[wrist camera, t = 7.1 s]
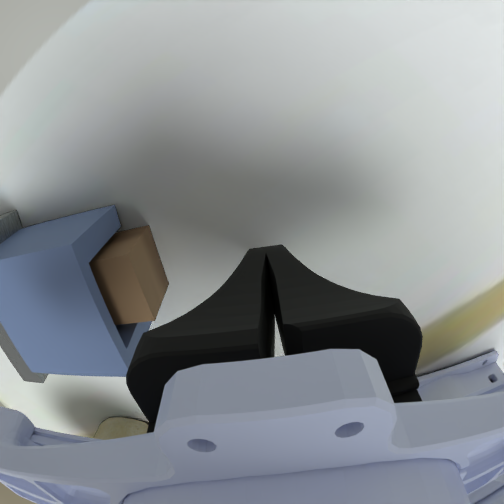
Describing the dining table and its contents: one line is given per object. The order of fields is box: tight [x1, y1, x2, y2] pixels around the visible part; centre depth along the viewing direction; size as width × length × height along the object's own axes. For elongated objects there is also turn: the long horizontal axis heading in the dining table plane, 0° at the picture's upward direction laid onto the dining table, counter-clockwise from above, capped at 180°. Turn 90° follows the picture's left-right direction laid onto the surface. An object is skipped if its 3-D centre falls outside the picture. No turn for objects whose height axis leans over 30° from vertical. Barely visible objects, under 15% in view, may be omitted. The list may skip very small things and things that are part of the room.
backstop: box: [0, 210, 48, 383], centre depth 13 cm, size 2×8×4 cm, turn 9°
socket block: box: [0, 205, 152, 377], centre depth 12 cm, size 6×6×4 cm
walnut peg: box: [89, 225, 169, 325], centre depth 13 cm, size 6×3×3 cm, turn 101°
